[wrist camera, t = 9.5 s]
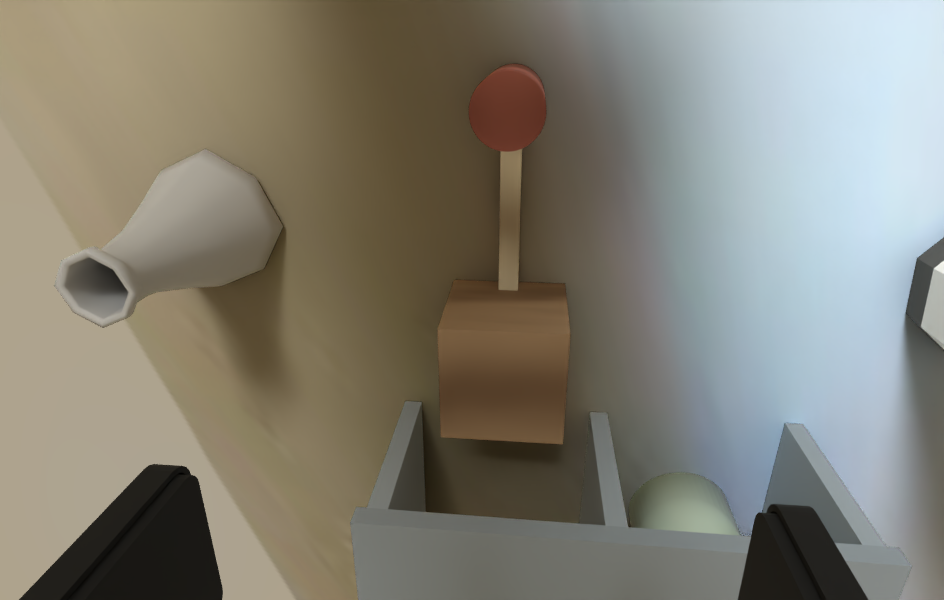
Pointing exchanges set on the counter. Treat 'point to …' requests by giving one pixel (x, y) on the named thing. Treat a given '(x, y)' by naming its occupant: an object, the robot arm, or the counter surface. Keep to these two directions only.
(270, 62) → the counter surface
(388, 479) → the lane shelf
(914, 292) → the wine bottle
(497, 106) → the block
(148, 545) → the robot arm
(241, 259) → the flask
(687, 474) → the jar
